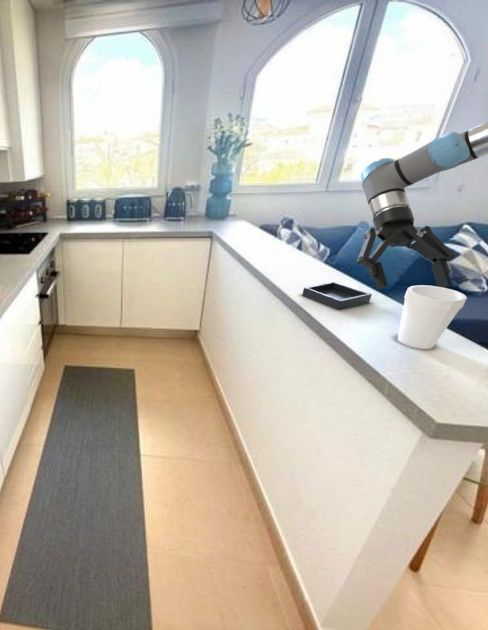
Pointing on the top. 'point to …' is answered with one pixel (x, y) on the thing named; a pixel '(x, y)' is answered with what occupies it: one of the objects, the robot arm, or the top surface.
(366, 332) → the top surface
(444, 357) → the top surface
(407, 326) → the foam cup
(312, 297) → the dark grey square tray
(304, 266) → the top surface
